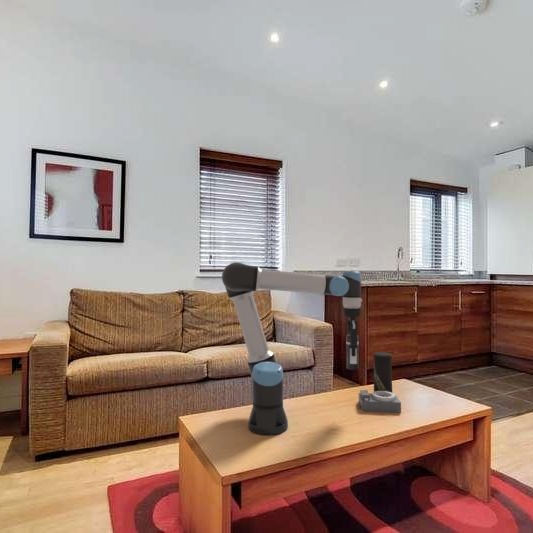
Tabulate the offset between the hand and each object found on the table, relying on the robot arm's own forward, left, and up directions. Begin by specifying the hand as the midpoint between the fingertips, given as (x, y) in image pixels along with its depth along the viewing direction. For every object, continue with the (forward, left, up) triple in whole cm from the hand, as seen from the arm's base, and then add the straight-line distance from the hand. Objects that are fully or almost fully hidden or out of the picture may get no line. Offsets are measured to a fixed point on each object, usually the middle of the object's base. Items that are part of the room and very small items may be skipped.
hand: (352, 361), depth 159 cm
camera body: (+12, +6, -21) cm, 25 cm away
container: (+17, +23, -21) cm, 35 cm away
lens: (0, 0, -3) cm, 3 cm away
